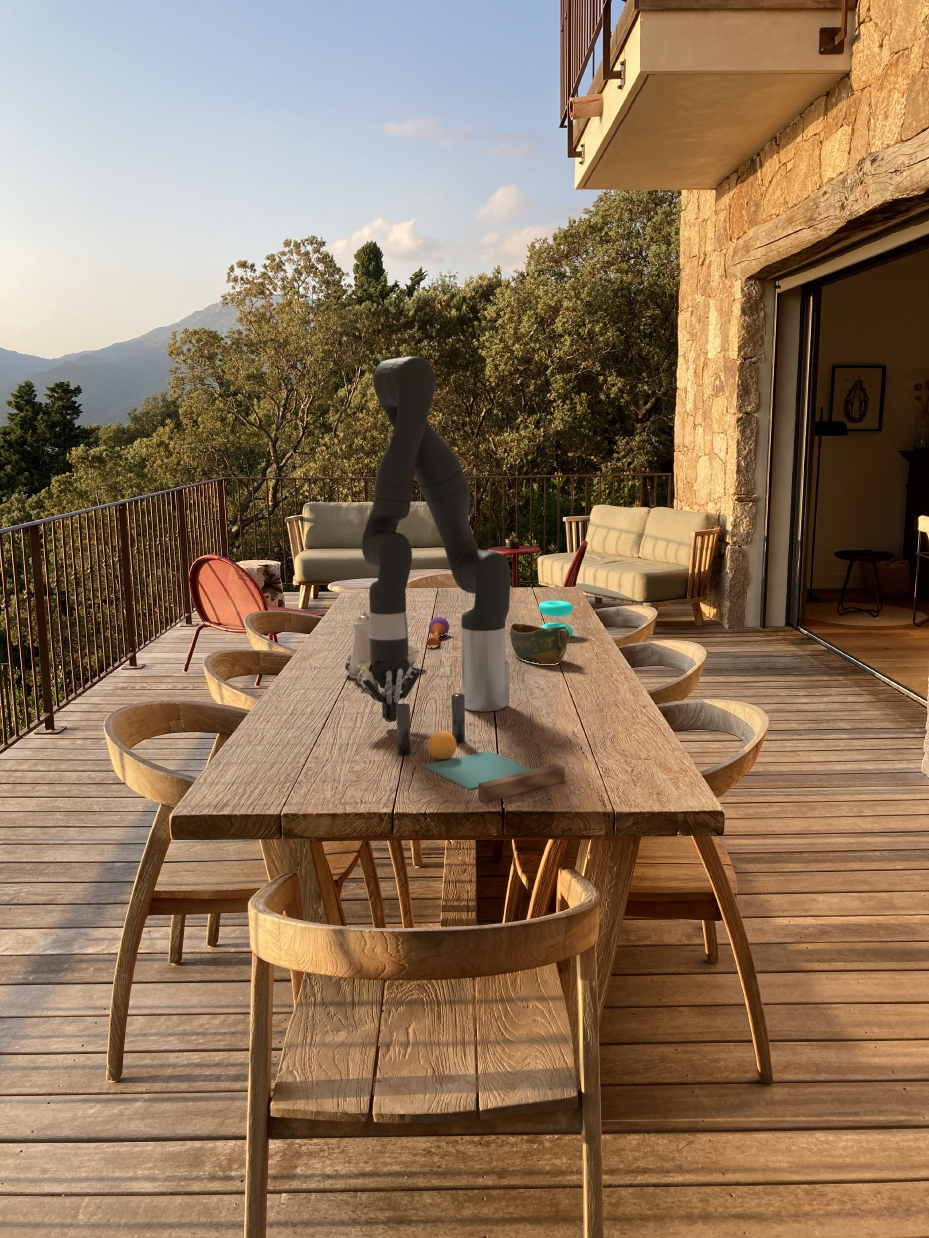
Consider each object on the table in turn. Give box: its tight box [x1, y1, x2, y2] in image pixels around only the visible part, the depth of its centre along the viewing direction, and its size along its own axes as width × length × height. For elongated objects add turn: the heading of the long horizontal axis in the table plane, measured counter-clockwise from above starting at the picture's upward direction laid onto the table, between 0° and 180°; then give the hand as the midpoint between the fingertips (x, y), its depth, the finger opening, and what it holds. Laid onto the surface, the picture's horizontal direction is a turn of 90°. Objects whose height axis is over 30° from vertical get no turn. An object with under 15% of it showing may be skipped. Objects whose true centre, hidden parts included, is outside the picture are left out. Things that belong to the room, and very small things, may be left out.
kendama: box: [426, 616, 450, 646], centre depth 269 cm, size 6×6×20 cm
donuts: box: [538, 600, 574, 636], centre depth 273 cm, size 10×10×10 cm
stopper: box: [477, 763, 566, 803], centre depth 151 cm, size 16×2×2 cm, turn 125°
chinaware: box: [344, 609, 422, 688], centre depth 226 cm, size 28×17×17 cm, turn 167°
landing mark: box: [422, 750, 533, 791], centre depth 161 cm, size 14×14×1 cm
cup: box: [509, 623, 571, 664], centre depth 242 cm, size 13×20×10 cm, turn 7°
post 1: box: [396, 702, 412, 757], centre depth 169 cm, size 2×2×9 cm
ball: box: [427, 730, 458, 760], centre depth 166 cm, size 5×5×5 cm
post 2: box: [451, 692, 466, 744], centre depth 175 cm, size 2×2×9 cm
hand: (390, 720), depth 185 cm, fingers closed
